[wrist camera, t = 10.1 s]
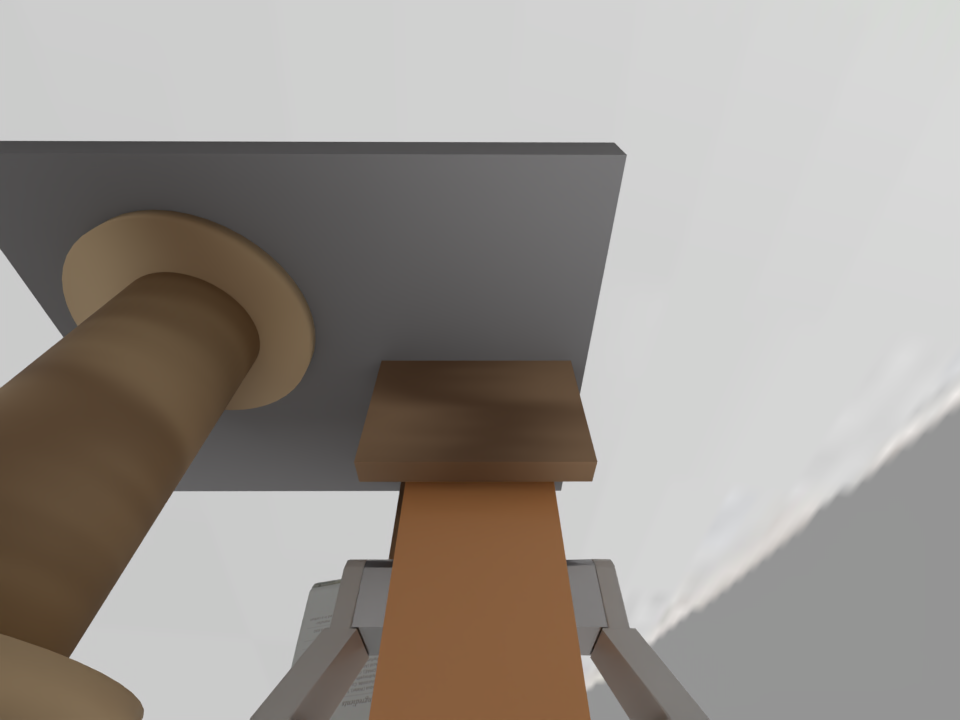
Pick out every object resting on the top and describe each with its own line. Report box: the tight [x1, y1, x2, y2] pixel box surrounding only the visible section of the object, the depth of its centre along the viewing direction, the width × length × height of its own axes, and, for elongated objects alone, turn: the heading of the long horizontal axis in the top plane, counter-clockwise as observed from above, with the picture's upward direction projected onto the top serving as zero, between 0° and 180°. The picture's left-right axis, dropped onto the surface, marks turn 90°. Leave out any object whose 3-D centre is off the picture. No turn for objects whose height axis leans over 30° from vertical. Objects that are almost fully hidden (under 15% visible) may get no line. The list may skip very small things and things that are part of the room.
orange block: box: [369, 482, 591, 720], centre depth 11 cm, size 4×4×7 cm
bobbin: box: [0, 210, 316, 720], centre depth 9 cm, size 6×6×10 cm
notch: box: [354, 361, 597, 559], centre depth 15 cm, size 6×7×4 cm
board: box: [0, 141, 627, 491], centre depth 15 cm, size 16×13×1 cm
